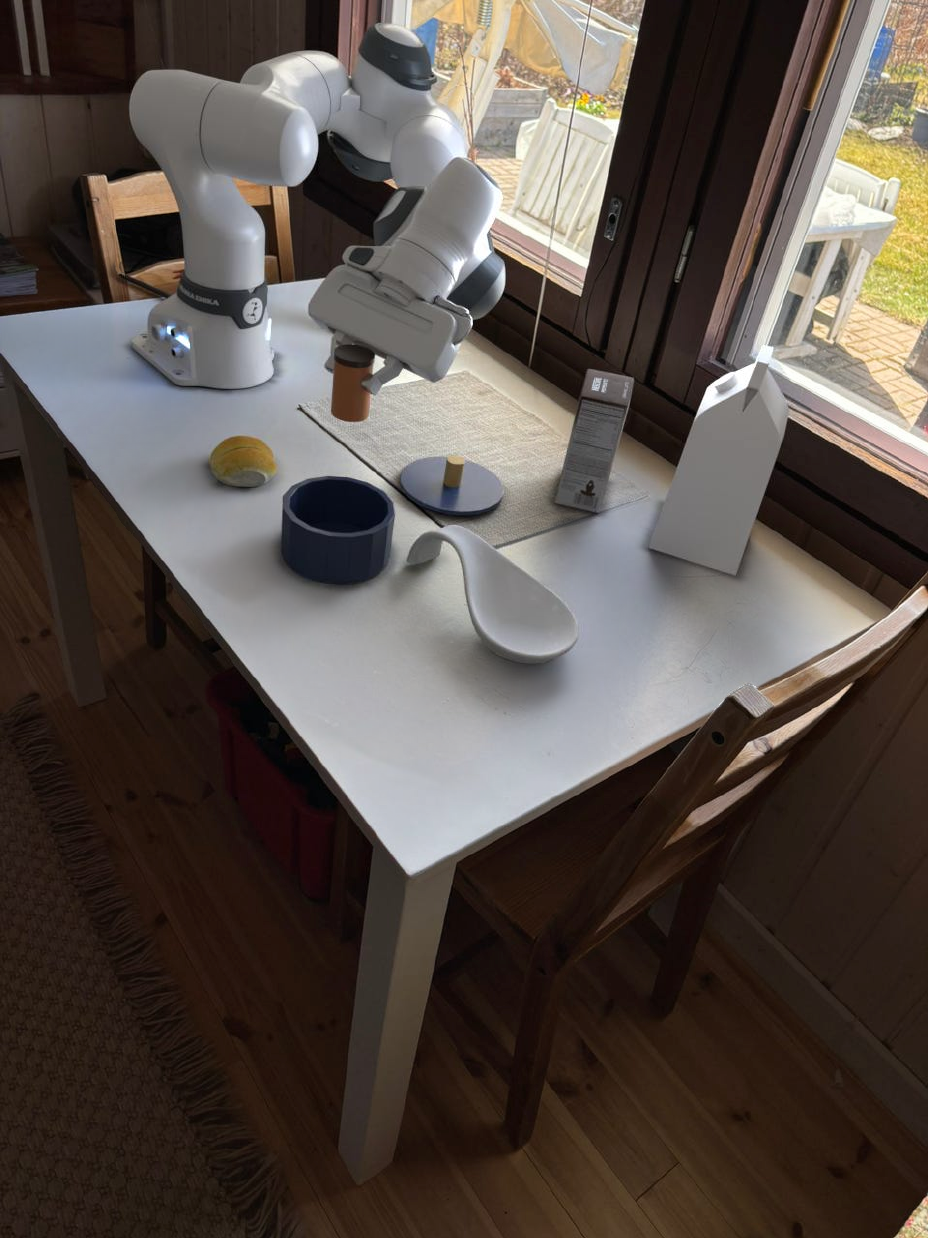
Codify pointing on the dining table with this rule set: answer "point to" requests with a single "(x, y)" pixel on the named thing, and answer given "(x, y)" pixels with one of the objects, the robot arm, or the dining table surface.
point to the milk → (724, 469)
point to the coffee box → (594, 439)
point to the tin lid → (451, 485)
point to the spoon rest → (504, 599)
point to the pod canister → (351, 382)
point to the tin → (336, 529)
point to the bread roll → (242, 462)
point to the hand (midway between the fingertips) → (348, 381)
